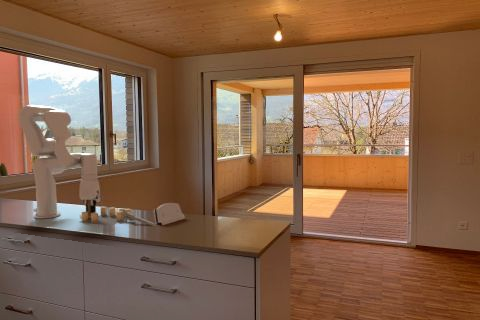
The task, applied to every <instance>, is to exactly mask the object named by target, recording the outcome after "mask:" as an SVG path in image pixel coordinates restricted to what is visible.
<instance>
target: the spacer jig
mask: <svg viewBox="0 0 480 320" xmlns="http://www.w3.org/2000/svg"><path fill="white" fill-rule="evenodd" d="M124 210H125V211H126V210H127V212H128V213H130V214H132V209H131V208H125V207H124V208H123V207H121V208H118V211H116V207H113V206H112V207H109V214H108V212H107V206H101V207H100V214H98V212H95V213H91V218H89V219H88V212H86V211H82V212H81V215H82V219H81V220H80V221H79V223H85V224H92V225H93V224H94V225H101V226H113V225H115V224H116V225H117V224H119V223H121V222H126V221H125V217H124V221H122V212H123V211H124ZM97 214H98V215H97ZM128 220H130V219H129V218H128V219H127V221H128Z"/></svg>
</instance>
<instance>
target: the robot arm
mask: <svg viewBox="0 0 480 320" xmlns="http://www.w3.org/2000/svg"><path fill="white" fill-rule="evenodd" d="M17 120H18V123H19V126H20V128H21V130H22V132H23V134H24V137H25V141H26V143H27V146H28V149H29V151H30V153H31V155H32V156H34V157H40V158H37V159H35V160H34V161H33V164H32V172H33V175H34V180H35V194H36V207H35V208H34V209H33V212H35V214H34V215H33V217H34V219H41V220H42V219H51V218H57V217H59V216H61V212H60V211H58V206H57V205H58V200H57V183H56V180H55V178H54V176H53V175H57V174H63V172H64V171H65V170H66V169H75V168H76V169H77V168H80V170H81V175H80V178H81V179H80V181H79V191H78V193H79V199H80V200H81V201H82V202H83V204H84V206H85V212H88V205H87V200H91V206H90V213H97V208H96V206H97V204H98V203H99V202H101V189H100V188H101V187H100V182H99V180H98V157H97V154H96V153H84V152H73V153H70V152H69V150H68V149H67V146H66V141H68V140H69V139H70V138H71V137H72V132H71V131H70V129H69V127H68V126H69V125H71V122H72V118H71V115H70V114H69V113H68V112H67V111H65V110H63V109H58V108H55V107H51V106H45V105H35V104H34V105H33V104H31V105H30V104H27V105H24V106H23V107H21V108H20V110H19V111H18V115H17ZM37 122H43V123H44V124H45V125H46V127H47V129H48V130H49V132H50V134H51V136H52V138H46V137H45V134H44V133H43V130H42V128H41V127H40V126H39V125H38V124H37ZM93 201H94V202H93Z"/></svg>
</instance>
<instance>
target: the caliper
mask: <svg viewBox="0 0 480 320" xmlns="http://www.w3.org/2000/svg"><path fill="white" fill-rule="evenodd" d="M124 217H125V221H124ZM128 218H129V219H128ZM127 219H128V220H131V221H136V222H139V223H142V224H145V225H148V226H150V227H151V226H153V227H156V226H157V224H155V222H152V221H150V220H147V219H144V218H141V217H139V216H135V214H132V213H131V214H130V213H128V212H127V210H126V211H125V210H124V211H123V212H122V222H127V221H128V220H127Z"/></svg>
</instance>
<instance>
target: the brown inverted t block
mask: <svg viewBox="0 0 480 320" xmlns="http://www.w3.org/2000/svg"><path fill="white" fill-rule="evenodd" d="M93 202H94V201H93ZM87 205H88V219H90V218H91V213H90V206H91V200H87ZM97 215H98V216H99V213H97Z"/></svg>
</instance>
